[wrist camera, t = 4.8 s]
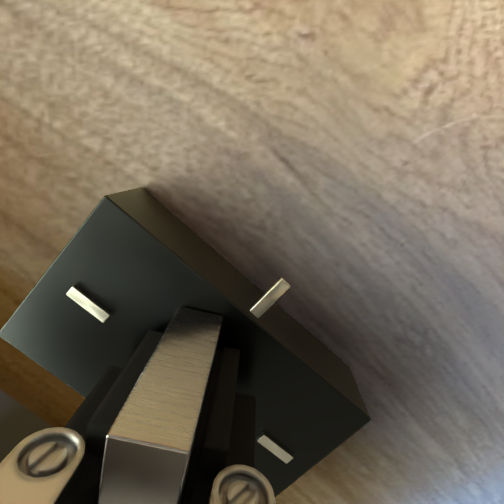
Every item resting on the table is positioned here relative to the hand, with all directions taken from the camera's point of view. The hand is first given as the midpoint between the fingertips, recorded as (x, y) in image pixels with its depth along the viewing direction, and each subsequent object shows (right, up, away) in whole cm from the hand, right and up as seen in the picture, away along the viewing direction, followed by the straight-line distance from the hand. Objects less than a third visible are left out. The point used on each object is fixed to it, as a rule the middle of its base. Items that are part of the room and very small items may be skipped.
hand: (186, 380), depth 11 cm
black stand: (0, +1, +3) cm, 3 cm away
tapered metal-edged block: (0, 0, 0) cm, 0 cm away
